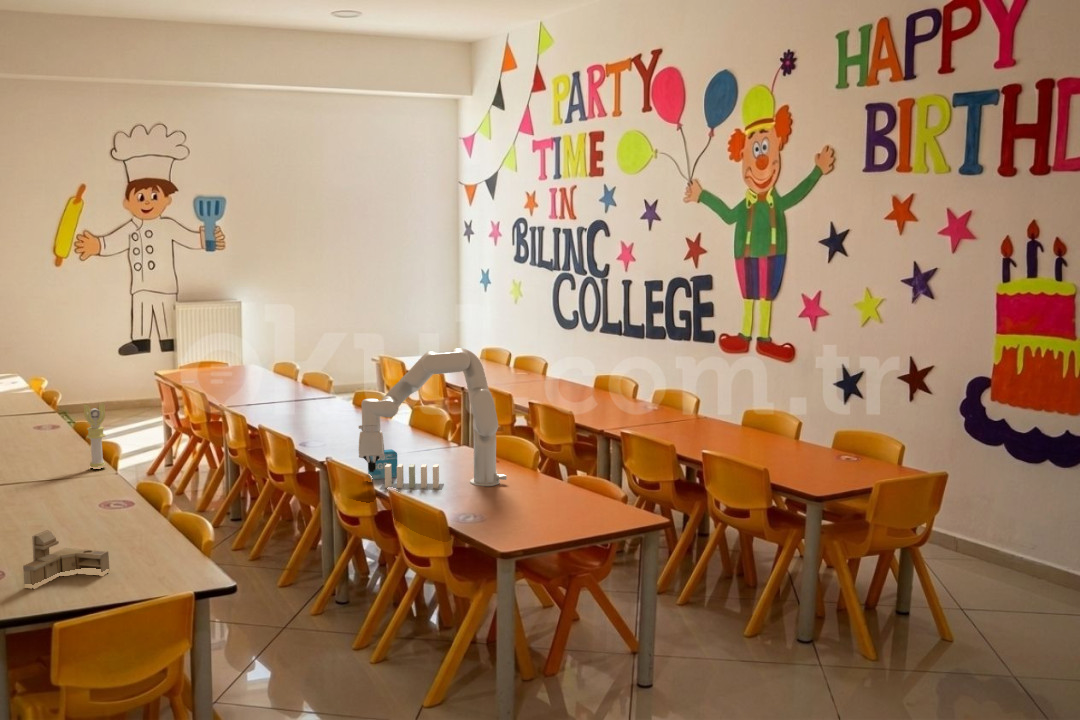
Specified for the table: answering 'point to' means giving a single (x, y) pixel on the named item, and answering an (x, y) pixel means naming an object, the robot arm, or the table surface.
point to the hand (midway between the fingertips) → (371, 471)
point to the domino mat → (417, 487)
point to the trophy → (95, 432)
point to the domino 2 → (400, 476)
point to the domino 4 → (424, 476)
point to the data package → (381, 463)
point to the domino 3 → (412, 476)
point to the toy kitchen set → (59, 559)
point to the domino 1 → (388, 476)
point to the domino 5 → (435, 475)
